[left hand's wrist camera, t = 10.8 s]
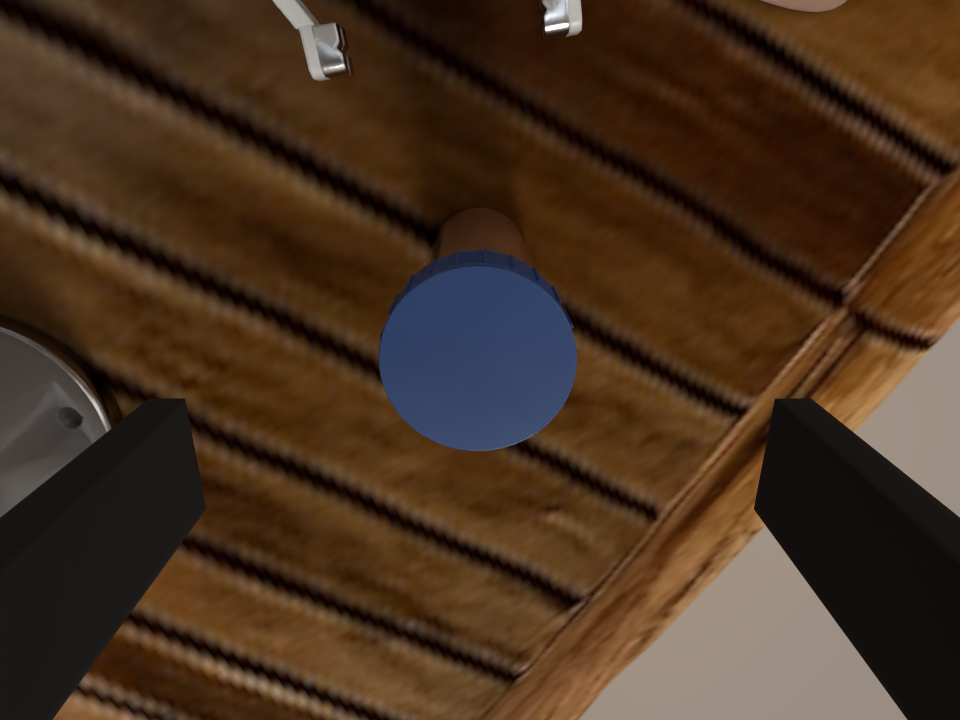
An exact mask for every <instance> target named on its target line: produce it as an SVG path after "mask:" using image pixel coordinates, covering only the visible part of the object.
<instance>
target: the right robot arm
mask: <svg viewBox="0 0 960 720" xmlns="http://www.w3.org/2000/svg"><path fill="white" fill-rule="evenodd" d="M273 2H274V3H275V4H276V5H277V7H278V8H279V9H280V10H281V11H282V13H283V14H284V15H285V16H286V18H287V19H288V20H289V21H290V22H291V24H292V25H293V26H294V27H295V28H296V29H297V30H299V31H300V35H301V39H302V43H303V47H304V52H305V56H306V60H307V64H308V68H309V71H310V73H311V76H312V78H313V79H315V80H318V81H323V80H328V79H334V78H339V77H344V76H349V75H353V65H352V60H351V58H350V57H349V56H348V55H347V54H346V53H347V50H348V47H349V46H348V42H347V37H346V33H345V29H343V28H342V27H339V25H338V24H337V23H335V22H334V23H328V24H322V25H320V24H319V23H318V21H317V20H316V19H315V17H314V16H313V15H312V14H311V12H310V11H309V10H308V8H307V7H306V6H305V5H304V3H303V2H302V1H301V0H273ZM537 2H538V12H539V13H540V14H541V16H542V17H543V19H542V21H541V23H540V29H541V36H542V40H548V39H554V38H560V37H567V36H572V35H577V34H578V33H579V32H580V31H581V29H582V11H581V0H537Z"/></svg>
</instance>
